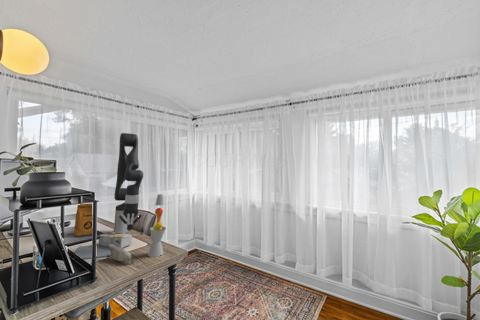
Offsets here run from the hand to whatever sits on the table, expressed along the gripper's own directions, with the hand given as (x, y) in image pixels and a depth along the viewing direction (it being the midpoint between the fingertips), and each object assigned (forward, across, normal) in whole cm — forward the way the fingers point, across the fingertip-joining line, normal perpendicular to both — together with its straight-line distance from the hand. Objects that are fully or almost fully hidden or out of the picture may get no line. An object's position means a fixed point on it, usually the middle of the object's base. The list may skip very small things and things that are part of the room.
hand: (129, 230), depth 132 cm
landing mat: (+11, +15, 0) cm, 19 cm away
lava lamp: (+11, -15, +14) cm, 23 cm away
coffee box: (+7, +1, -1) cm, 7 cm away
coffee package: (+11, +27, -36) cm, 46 cm away
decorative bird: (+11, +4, +17) cm, 21 cm away
